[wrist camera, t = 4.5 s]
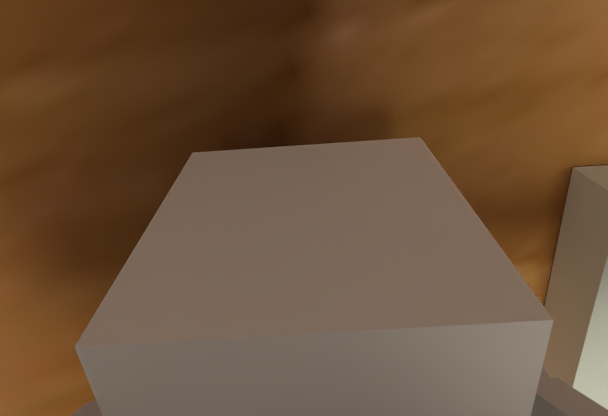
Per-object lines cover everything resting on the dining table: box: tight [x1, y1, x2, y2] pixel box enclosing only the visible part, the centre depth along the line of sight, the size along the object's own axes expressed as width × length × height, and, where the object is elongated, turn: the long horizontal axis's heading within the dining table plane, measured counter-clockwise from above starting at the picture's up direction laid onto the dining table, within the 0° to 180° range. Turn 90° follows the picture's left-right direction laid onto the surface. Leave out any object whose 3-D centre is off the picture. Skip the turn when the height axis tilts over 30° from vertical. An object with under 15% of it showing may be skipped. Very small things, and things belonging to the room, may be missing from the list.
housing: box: [75, 137, 554, 416], centre depth 11 cm, size 9×6×7 cm, turn 4°
